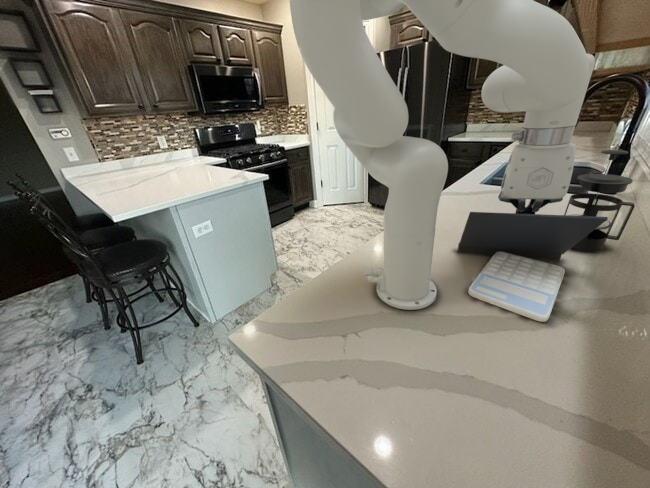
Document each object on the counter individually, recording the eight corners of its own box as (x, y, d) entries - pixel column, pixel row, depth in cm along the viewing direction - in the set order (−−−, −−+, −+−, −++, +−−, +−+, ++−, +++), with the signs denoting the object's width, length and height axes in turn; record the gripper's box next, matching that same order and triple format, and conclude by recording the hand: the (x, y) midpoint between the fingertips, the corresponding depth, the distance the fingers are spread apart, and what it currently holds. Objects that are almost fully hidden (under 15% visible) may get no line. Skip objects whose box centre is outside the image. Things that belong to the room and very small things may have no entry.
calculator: (564, 273, 57) (567, 266, 56) (546, 325, 45) (549, 317, 44) (495, 255, 66) (497, 249, 65) (465, 295, 54) (466, 288, 53)
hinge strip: (457, 252, 69) (458, 244, 68) (457, 250, 70) (458, 242, 69) (559, 261, 61) (562, 252, 60) (557, 259, 62) (561, 250, 61)
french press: (548, 245, 67) (580, 153, 57) (553, 232, 73) (582, 146, 63) (613, 258, 60) (664, 155, 49) (612, 242, 66) (657, 147, 55)
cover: (469, 213, 54) (469, 211, 54) (458, 246, 68) (458, 244, 68) (608, 219, 46) (607, 216, 46) (562, 254, 60) (562, 252, 60)
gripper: (501, 142, 48) (484, 232, 56) (609, 136, 42) (572, 236, 51) (494, 137, 54) (479, 218, 62) (588, 131, 48) (557, 221, 57)
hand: (521, 226), depth 57 cm, fingers closed
